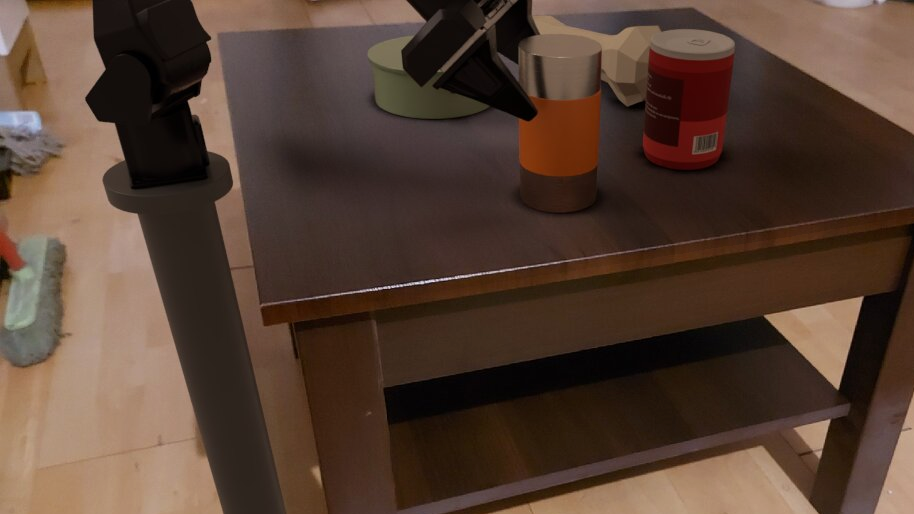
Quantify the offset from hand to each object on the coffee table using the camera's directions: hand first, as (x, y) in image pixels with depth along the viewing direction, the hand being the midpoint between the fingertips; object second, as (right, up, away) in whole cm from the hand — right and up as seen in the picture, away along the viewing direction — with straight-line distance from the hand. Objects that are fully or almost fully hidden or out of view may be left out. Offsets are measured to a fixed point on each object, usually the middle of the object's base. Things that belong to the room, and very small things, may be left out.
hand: (546, 98), depth 71 cm
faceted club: (+3, +11, +32) cm, 34 cm away
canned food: (+12, -2, +14) cm, 18 cm away
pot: (-14, +7, +24) cm, 29 cm away
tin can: (+1, -7, +5) cm, 9 cm away
